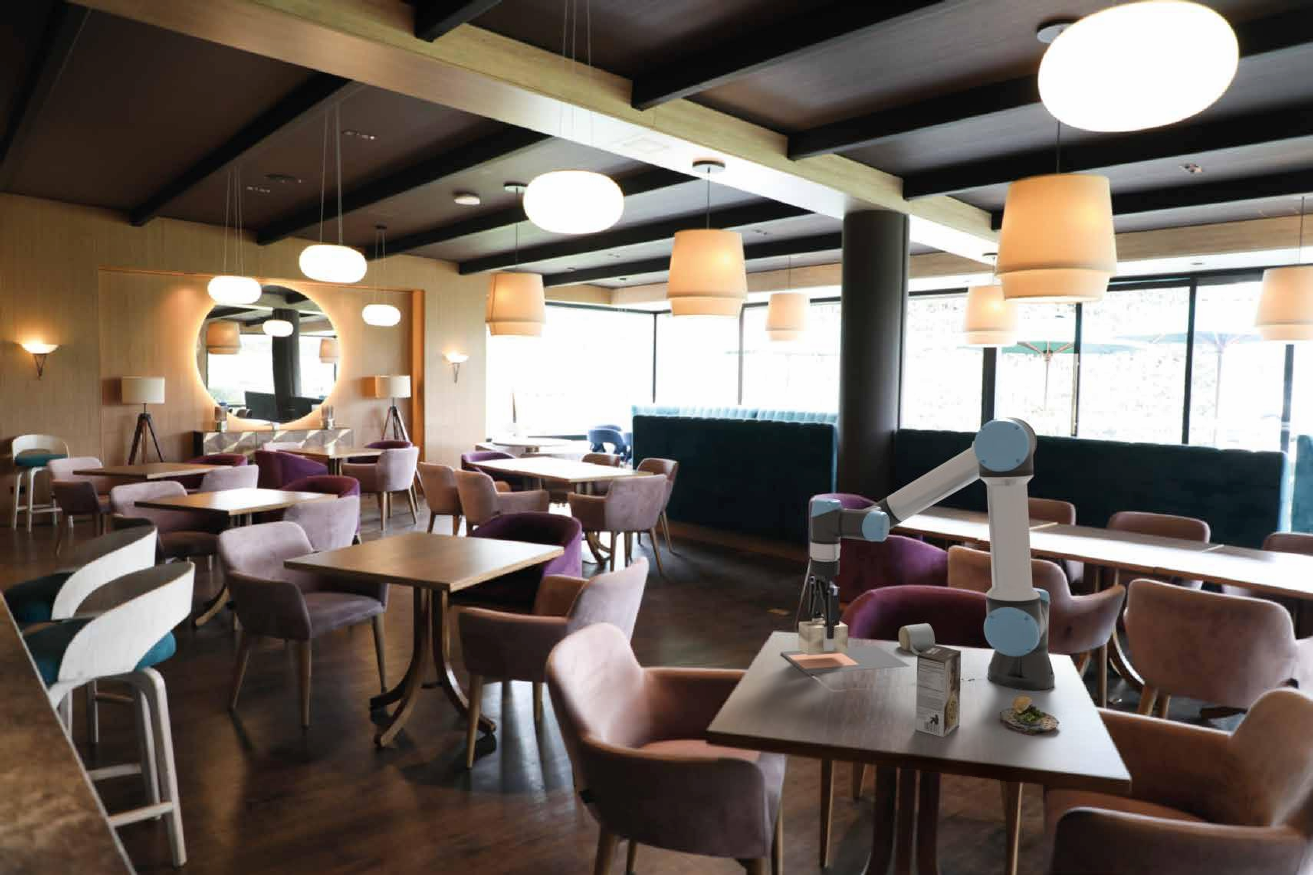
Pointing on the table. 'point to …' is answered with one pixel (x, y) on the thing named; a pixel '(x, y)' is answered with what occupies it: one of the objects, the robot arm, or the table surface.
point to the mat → (844, 660)
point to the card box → (821, 638)
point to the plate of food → (1026, 718)
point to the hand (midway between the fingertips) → (822, 646)
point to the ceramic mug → (916, 637)
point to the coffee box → (938, 690)
